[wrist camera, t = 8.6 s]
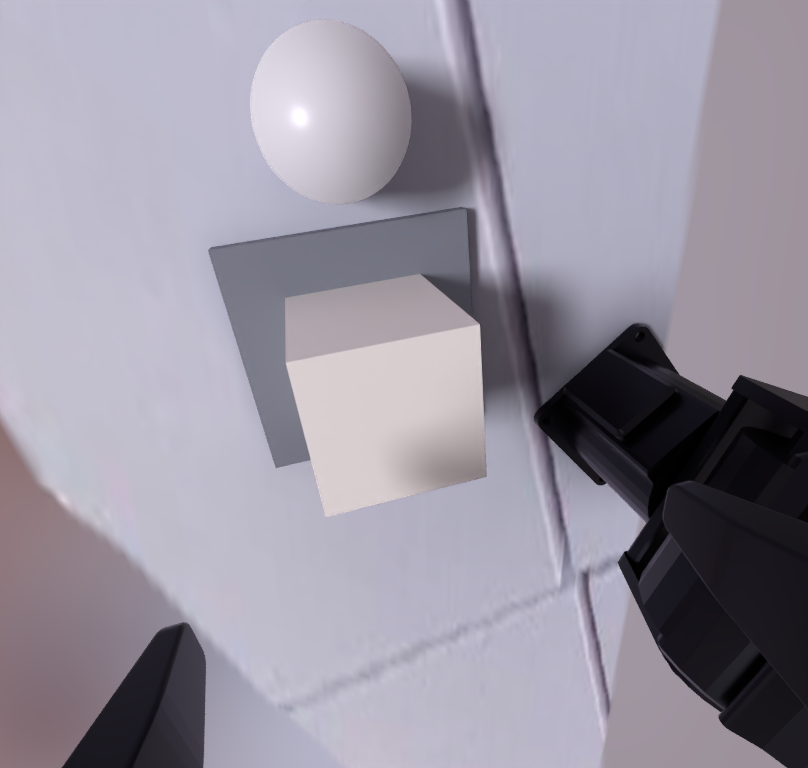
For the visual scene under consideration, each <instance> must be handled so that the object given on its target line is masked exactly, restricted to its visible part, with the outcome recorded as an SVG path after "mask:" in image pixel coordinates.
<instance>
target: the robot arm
mask: <svg viewBox="0 0 808 768" xmlns="http://www.w3.org/2000/svg"><path fill="white" fill-rule="evenodd" d="M637 333H639V334H638V336H637V338H635V336H636V334H637ZM732 389H733V392H732V393H731V395H730V396H729V398H728V399H727V401H726V400H724V399H722V398H721V397H719V396H717V395H715V394H713V393H711V392H710V391H708V390H706V389H704V388H702V387H700V386H698V385H696V384H695V383H693V382H691V381H689V380H688V379H686V378H684V377H682V376H680V375H679V373H678V372H677V370H676V369H675V368H674V366H673V365H672V363H671V362H670V360H669V359H668V357H667V356H666V354H665V353H664V351H663V350H662V348H661V347H660V345H659V344H658V342H657V341H656V339H655V338H654V336H653V335H652V333H651V332H650V330H649V329H648V328H647V327H645V326H643V325H641V324H633V325H631V326H630V327H629V328H627V329H626V330H625V331H624V332H623V333H622V334H621V335H620V336H619V337H618V338H616V339H615V340H614V341H613V342H612V343H611V344H610V345H609V346H608V347H607V348H606V349H604V350H603V351H602V352H601V353H600V354H599V355H598V356H597V357H596V358H595V359H594V360H592V361H591V362H590V363H589V364H588V365H587V366H586V367H585V368H584V369H583V370H581V371H580V372H579V373H578V374H577V375H576V376H575V377H574V378H573V379H572V380H571V381H569V382H568V383H567V384H566V385H565V386H564V387H563V388H562V389H561V390H560V391H558V392H557V393H556V394H555V395H554V396H553V397H552V398H551V399H550V400H549V401H548V402H546V403H545V404H544V405H543V406H542V407H541V408H540V409H539V410H538V411H537V412H536V413H535V416H534V421H535V423H536V424H537V425H538V426H539V427H540V428H541V429H542V430H543V431H544V432H545V433H546V434H547V435H548V436H549V437H550V438H551V439H552V440H553V441H554V442H555V443H556V444H557V445H558V446H559V447H560V448H561V449H562V450H563V451H564V452H565V453H566V454H567V455H568V456H569V457H570V458H571V459H572V460H573V461H574V462H575V463H576V464H577V465H578V466H579V467H580V468H581V469H582V470H583V471H584V472H585V473H586V474H587V475H588V476H589V477H590V478H591V479H592V480H593V481H594V482H595V483H596V484H597V485H604V484H606V483H607V484H608V485H609V486H610V487H611V488H612V489H613V490H614V491H615V492H616V493H617V494H618V495H619V496H620V497H621V498H622V499H623V500H624V501H625V502H626V503H627V504H628V505H629V506H630V507H631V508H632V509H633V510H634V511H635V512H636V513H637V514H638V515H639V516H640V517H641V518H642V519H643V520H644V521H645V522H646V525H645V526H644V527H643V529H642V530H641V532H640V534H639V535H638V537H637V538H636V540H635V541H634V543H633V544H632V546H631V547H630V549H629V550H628V551H625V552H624V553H623V555H622V556H621V558H620V559H619V561H618V564H619V567H620V569H621V571H622V573H623V575H624V577H625V579H626V581H627V583H628V585H629V587H630V590H631V592H632V594H633V596H634V598H635V600H636V602H637V604H638V606H639V608H640V610H641V612H642V615H643V616H644V619H645V621H646V623H647V625H648V627H649V629H650V631H651V633H652V635H653V638H654V640H655V642H656V644H657V646H658V648H659V650H660V651H661V653H662V655H663V657H664V658H665V660H666V661H667V662H668V664H669V666H670V668H671V669H672V670H673V672H674V673H675V674H676V675H678V676H679V677H680V678H681V679H682V680H683V681H684V682H685V684H686V685H687V686H688V687H689V688H691V689H692V690H693V691H694V692H695V693H696V694H697V695H699V696H700V697H701V698H702V699H703V700H704V701H706V702H707V703H709V704H710V705H712V706H713V707H714V708H716V709H717V710H719V711H720V712H721V713H720V714H719V720H720V721H721V723H722V724H723V725H724V726H725V727H726V728H727V729H729V730H731V731H732V732H734V733H735V734H737V735H739V736H741V737H742V738H744V739H746V740H747V741H749V742H751V743H753V744H755V745H756V746H758V747H759V748H761V749H763V750H764V751H766V752H767V753H768V754H770V755H771V756H772V757H774V758H775V759H776V760H778V761H779V762H780V763H781V764H783V765H784V766H786V767H787V768H808V397H807V396H803V395H800V394H797V393H794V392H791V391H788V390H785V389H782V388H779V387H776V386H773V385H770V384H767V383H764V382H760V381H757V380H754V379H751V378H748V377H745V376H742V375H740V376H739V377H738V379H737V380H736V382H735V383H734V385H733V386H732ZM546 416H548V418H547V419H546V420H544V421H543V419H544V418H545V417H546ZM205 685H206V660H205V655H204V651H203V649H202V647H201V645H200V643H199V642H198V640H197V638H196V636H195V634H194V632H193V630H192V628H191V627H190V625H189V624H188V623H186V622H184V623H179V624H175V625H172V626H168V627H165V628H162V629H161V630H160V631H159V632H157V634H156V635H155V636H154V638H153V639H152V640H151V642H150V643H149V645H148V646H147V648H146V649H145V650H144V652H143V653H142V655H141V656H140V658H139V659H138V661H137V662H136V663H135V665H134V666H133V667H132V669H131V670H130V672H129V673H128V674H127V676H126V677H125V679H124V680H123V682H122V683H121V685H120V686H119V687H118V689H117V690H116V692H115V693H114V694H113V696H112V697H111V699H110V700H109V702H108V703H107V704H106V706H105V707H104V709H103V710H102V711H101V713H100V714H99V716H98V717H97V718H96V720H95V721H94V723H93V724H92V726H91V727H90V728H89V730H88V731H87V733H86V734H85V736H84V737H83V738H82V740H81V741H80V743H79V744H78V745H77V747H76V748H75V750H74V751H73V753H72V754H71V755H70V757H69V758H68V760H67V761H66V762H65V764H64V765H63V767H62V768H203V762H204V727H205Z"/></svg>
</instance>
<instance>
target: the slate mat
mask: <svg viewBox="0 0 808 768" xmlns="http://www.w3.org/2000/svg"><path fill="white" fill-rule="evenodd" d="M208 251H209V255H210V258H211V261H212V264H213V268H214V271H215V274H216V277H217V280H218V284H219V287H220V290H221V293H222V296H223V300H224V303H225V306H226V309H227V313H228V316H229V319H230V322H231V325H232V329H233V332H234V335H235V338H236V341H237V345H238V348H239V351H240V354H241V358H242V361H243V364H244V367H245V370H246V374H247V377H248V380H249V383H250V386H251V390H252V393H253V396H254V399H255V403H256V406H257V409H258V412H259V415H260V419H261V422H262V425H263V428H264V431H265V435H266V438H267V441H268V444H269V448H270V451H271V454H272V457H273V460H274V464H275V467H276V468H278V467H282V466H286V465H290V464H295V463H299V462H303V461H308V460H311V459H310V455H309V451H308V447H307V443H306V440H305V436H304V432H303V428H302V424H301V420H300V416H299V413H298V409H297V405H296V401H295V397H294V393H293V389H292V386H291V382H290V378H289V374H288V370H287V366H286V350H285V298H287V297H293V296H298V295H304V294H310V293H315V292H321V291H327V290H332V289H338V288H343V287H349V286H355V285H360V284H366V283H372V282H377V281H383V280H389V279H394V278H400V277H406V276H411V275H417V274H421V275H422V276H423V277H424V278H426V279H427V280H428V281H429V282H430V283H431V284H433V285H434V286H435V287H436V288H437V289H439V290H440V291H441V292H442V293H443V294H445V295H446V296H447V297H448V298H449V299H450V300H452V301H453V302H454V303H455V304H456V305H458V306H459V307H460V308H461V309H462V310H464V311H465V312H466V313H467V314H468V315H470V316H471V317H472V301H471V283H470V264H469V246H468V228H467V210H466V209H465V208H462V207H459V208H453V209H447V210H441V211H435V212H428V213H422V214H416V215H410V216H403V217H397V218H391V219H385V220H379V221H372V222H366V223H360V224H354V225H348V226H341V227H335V228H329V229H323V230H316V231H310V232H304V233H298V234H292V235H285V236H279V237H273V238H267V239H261V240H254V241H248V242H242V243H236V244H230V245H223V246H217V247H211V248H210V249H209V250H208Z"/></svg>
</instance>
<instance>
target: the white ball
mask: <svg viewBox="0 0 808 768" xmlns="http://www.w3.org/2000/svg"><path fill="white" fill-rule="evenodd" d="M250 111H251V120H252V126H253V130H254V134H255V137H256V141H257V143H258V145H259V148H260V150H261V152H262V154H263V156H264V158H265V160H266V161H267V163H268V164H269V166H270V167H271V169H272V170H273V171H274V172H275V174H276V175H277V176H278V177H279V178H280V179H281V180H282V181H283V182H284V183H285V184H286V185H288V186H289V187H290V188H291V189H293V190H294V191H296V192H297V193H299V194H301V195H303V196H305V197H307V198H309V199H312V200H314V201H317V202H321V203H326V204H337V205H338V204H349V203H354V202H358V201H361V200H363V199H366V198H368V197H370V196H372V195H373V194H375V193H376V192H378V191H379V190H380V189H382V188H383V187H384V186H385V185H386V184H387V183H388V182H389V181H390V180H391V179H392V177H393V176H394V175H395V174H396V172H397V170H398V169H399V167H400V166H401V164H402V161H403V159H404V157H405V155H406V152H407V148H408V145H409V140H410V135H411V125H412V115H411V105H410V98H409V94H408V90H407V87H406V84H405V81H404V79H403V76H402V74H401V72H400V70H399V68H398V66H397V65H396V63H395V62H394V60H393V59H392V57H391V56H390V54H389V53H388V52H387V51H386V50H385V48H384V47H383V46H382V45H381V44H380V43H379V42H378V41H376V40H375V39H374V38H373V37H372V36H370V35H369V34H367V33H366V32H365V31H363V30H361V29H359V28H357V27H355V26H353V25H350V24H347V23H344V22H341V21H335V20H314V21H308V22H305V23H302V24H299V25H296V26H294V27H292V28H291V29H289V30H287V31H286V32H284V33H283V34H282V35H280V36H279V37H278V38H277V39H276V40H275V41H274V42H273V43H272V44H271V45H270V46H269V48H268V49H267V51H266V52H265V53H264V55H263V57H262V59H261V61H260V63H259V65H258V67H257V69H256V72H255V75H254V78H253V83H252V88H251V98H250Z"/></svg>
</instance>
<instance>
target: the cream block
mask: <svg viewBox="0 0 808 768" xmlns="http://www.w3.org/2000/svg"><path fill="white" fill-rule="evenodd" d="M285 350H286V366H287V370H288V374H289V378H290V382H291V386H292V389H293V393H294V397H295V401H296V405H297V409H298V413H299V416H300V420H301V424H302V428H303V432H304V436H305V440H306V443H307V447H308V451H309V455H310V459H311V463H312V467H313V470H314V474H315V478H316V482H317V486H318V490H319V494H320V497H321V501H322V505H323V509H324V513H325V517H328V516H332V515H336V514H340V513H344V512H348V511H352V510H356V509H360V508H364V507H368V506H372V505H376V504H380V503H384V502H388V501H392V500H396V499H400V498H404V497H408V496H412V495H416V494H420V493H424V492H428V491H432V490H436V489H440V488H444V487H448V486H452V485H455V484H459V483H463V482H467V481H471V480H475V479H479V478H483V477H487V476H486V453H485V430H484V407H483V384H482V361H481V338H480V324H479V323H478V322H477V321H475V320H474V319H473V318H472V317H471V316H470V315H468V314H467V313H466V312H465V311H464V310H462V309H461V308H460V307H459V306H458V305H456V304H455V303H454V302H453V301H452V300H450V299H449V298H448V297H447V296H446V295H445V294H443V293H442V292H441V291H440V290H439V289H437V288H436V287H435V286H434V285H433V284H431V283H430V282H429V281H428V280H427V279H426V278H424V277H423V276H422V275H421V274H417V275H411V276H406V277H400V278H394V279H389V280H383V281H377V282H372V283H366V284H360V285H355V286H349V287H343V288H338V289H332V290H327V291H321V292H315V293H310V294H304V295H298V296H293V297H287V298H285Z"/></svg>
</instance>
